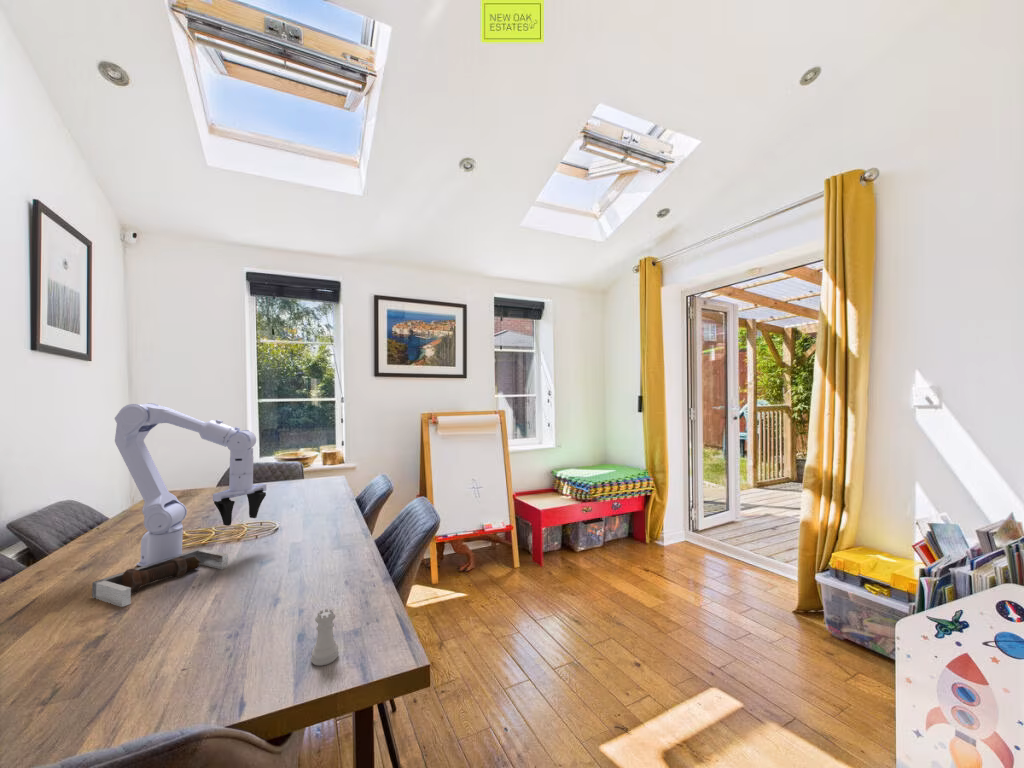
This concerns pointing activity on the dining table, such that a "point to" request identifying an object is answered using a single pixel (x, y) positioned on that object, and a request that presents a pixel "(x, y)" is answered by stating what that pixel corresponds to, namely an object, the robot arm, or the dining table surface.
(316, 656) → the rook chess piece
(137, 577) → the bolt
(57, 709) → the dining table surface
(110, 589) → the keeper
